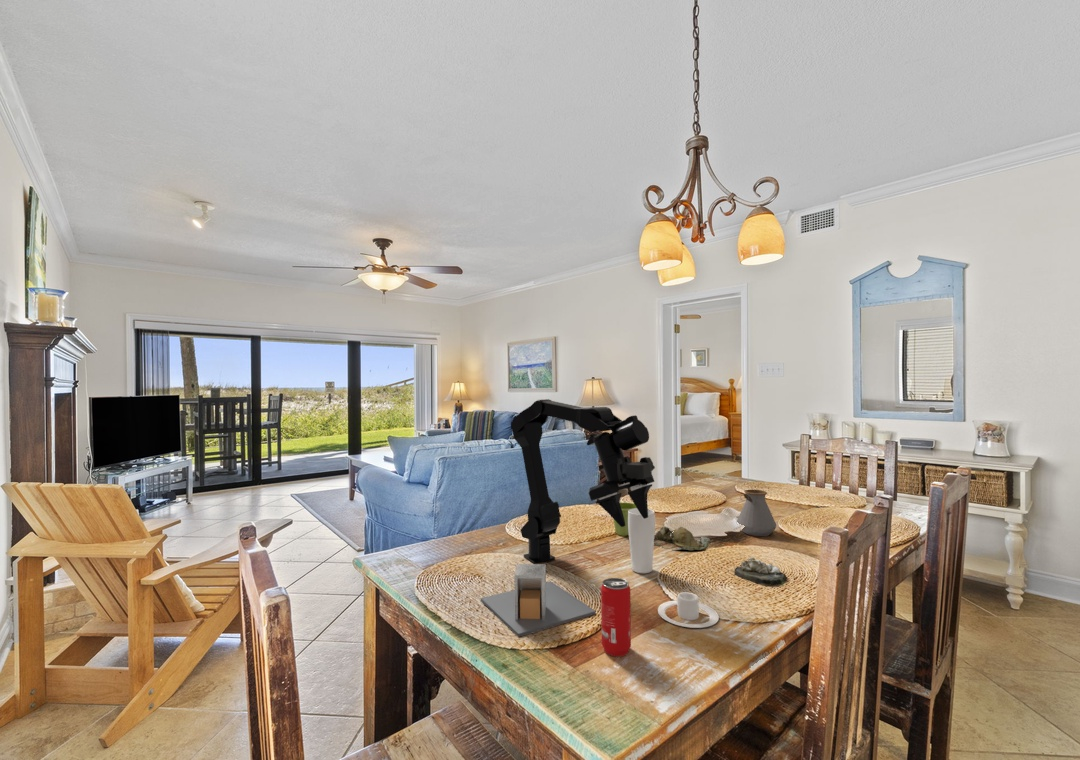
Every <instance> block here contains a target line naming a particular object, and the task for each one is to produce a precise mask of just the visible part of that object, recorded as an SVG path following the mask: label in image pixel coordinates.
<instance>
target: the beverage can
mask: <svg viewBox="0 0 1080 760" xmlns="http://www.w3.org/2000/svg"><path fill="white" fill-rule="evenodd" d="M600 597H601V599H600V600H601V601H600V602H601V603H600V604H601V605H600V607H601V610H600V612H601V615H600V616H601V617H600V619H601V645H602V648H603V651H604V653H606V654H607V655H609V656H611V657H615V658H618V657H619V658H621V657H624V656H627V655H628V654H629V652H630V651H629V650H630V649H631V647H632V638H631V637H632V625H631V623H632V622H631V619H632V617H631V614H632V613H631V611H632V610H631V587H630V583H629V582H628V581H627V580H626V579H624V578H619V577H608V578H605V579H603V580H602V584H601V586H600Z"/></svg>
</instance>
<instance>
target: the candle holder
mask: <svg viewBox="0 0 1080 760" xmlns="http://www.w3.org/2000/svg"><path fill="white" fill-rule="evenodd" d="M699 599H700V598H699V596H698V595H697V594H695V593H692V592H687V591H684V592H679V593H678V594H677V600H669V601H665V602H662V603H661V604H660V605H659V606H658V608H657V613H658V615H659V617H660V618H662V619H663V620H664V621H666V622H668V623H670V624H672V625H675V626H679V627H683V628H684V627H685V628H691V629H692V628H693V629H701V628H703V629H704V628H708V627H712V626H714V625H716V623H717V622H718V621H719V620H720V619H719V618H720V616H719V614H718V613H717V611H716V610H715V609H714V608H712V607H710V606H708V605H706V604H704V603H701V602H700V601H699ZM673 606H677V608H676V609H677V615H678V617H680V619H683V620H687V621H694V620H697V619H699V617H700V609H701V610H703V611H704V612H706V613H707V615H708V616H709V620H708V621H706V622H703V623H697V624H696V623H695V624H691V623H684V622H679V621H677V620H674V619H672V618H670V617H668V616H667V614H666V610H667V609H669V608H671V607H673Z"/></svg>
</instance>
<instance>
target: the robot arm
mask: <svg viewBox="0 0 1080 760" xmlns="http://www.w3.org/2000/svg"><path fill="white" fill-rule="evenodd" d="M549 417H550V418H555V419H558V420H559V419H560V420H563V421H567V422H572V423H575V424H576V425H577V426H578V427H579V428H581V429H583V430H585V431H588V432H590V433H592V434H589V438H588V440H587V442H586V445H587V446H594V447H595V448H596V452H597V455H598V457H599V461H600V464H601V465H598V468H599V470H600V471H602V470H603V472H604V475H605V478H606V482H603V483H600V484H598V485H595V486H592V487H590V488H589V491H588V493H587V494H588V497H589V499H590V501H591V502H593V501H594V502H595V504H596V505H597V504H598V505H599V506H600V507H601V508H602V509H603V510H604V511H605V512H606V513H608V515H609V517H611V518H612V519H613V521H614V520H615V521H616V522H617V523H618V524H619V525H620V526H621V527H624V526H625V520H624V516H623V512H622V509H621V505H620V503H621V497H622V492H620V493H619V491H621V490H625V489H627V490H628V492H627V494H628V496H629V498H630V499H631V501H632V503H634V504H635V506H636V507H637V509H638V511H639V512H640V514H641V515H642V517H643V518H644V519H645V518H648V509H649V507H648V493H649V491H650V489H651V487H653V484H651V483H654V482H655V478H654V476H653V474H652V471H653V470H655V469H656V467H655V465H654V462H653V461H652V459H651V457H647V456H645V457H644V456H643V457H641V458H640V459H639V461H632V460H631V457H629V455H628V456H625V454H624V451H625V452H627V451H630V450H632V449H635V448H636V447H638V446H642V445H644V444H646V443H648V442H649V439H650V433H649V430H648V428H647V427H646V425H645V424H644V423H643V422H642V421H641V420H640V419H638V416H637V415H630V416H628V417H627V418H625V419H624V420H622V419H620V418H619V417H617V416H616V415H615V414H614V413H613V410H612V409H611V408H609V407H608V406H593V407H591V406H589V407H587V406H586V407H584V406H577V405H572V404H568V403H564V402H559V401H555V400H554V401H553V400H552V399H549V398H548V399H547V398H546V399H537V400H536V401H534V402H533V403H532V404H531V405H530V406H529V407H527V408H525V409H523V410H522V411H521V412H519V413H518V414H516V415H514V417H513V419H512V420H511V422H510V429H511V432H512V436H513V438H514V440H515V441H516V443H517V444H518V446H520V447H521V451H522V452H521V453H522V457H523V463H524V468H525V469H524V470H525V474H526V478H527V479H526V480H527V486H528V491H529V496H530V503H529V506H528V509H527V521H526V523H524V525H523V526H522V527H521V529H520V533H521V537H522V538H524V539H527V540H528V553H525V554H523V558H525V559H527V561H530V562H532V564H541V563H543V562H548V561H552V560H555V559H556V557H555V556H554V555H552V554H551V537H550V536H551V535H555V534H556V532H557V529H558V526H559V525H561V517H562V515H561V513H560V506H559V502H558V501H555V502H554V501H553V499H552V498H551V497H550V495H549V490H548V483H547V480H546V479H547V478H546V473H545V469H544V463H543V459H542V454H541V446H540V443H541V441H542V437H543V426H544V425H545V424H546V423H547V422H548V420H549ZM608 431H611V432H608ZM594 432H601V433H599V434H597V433H594Z"/></svg>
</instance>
